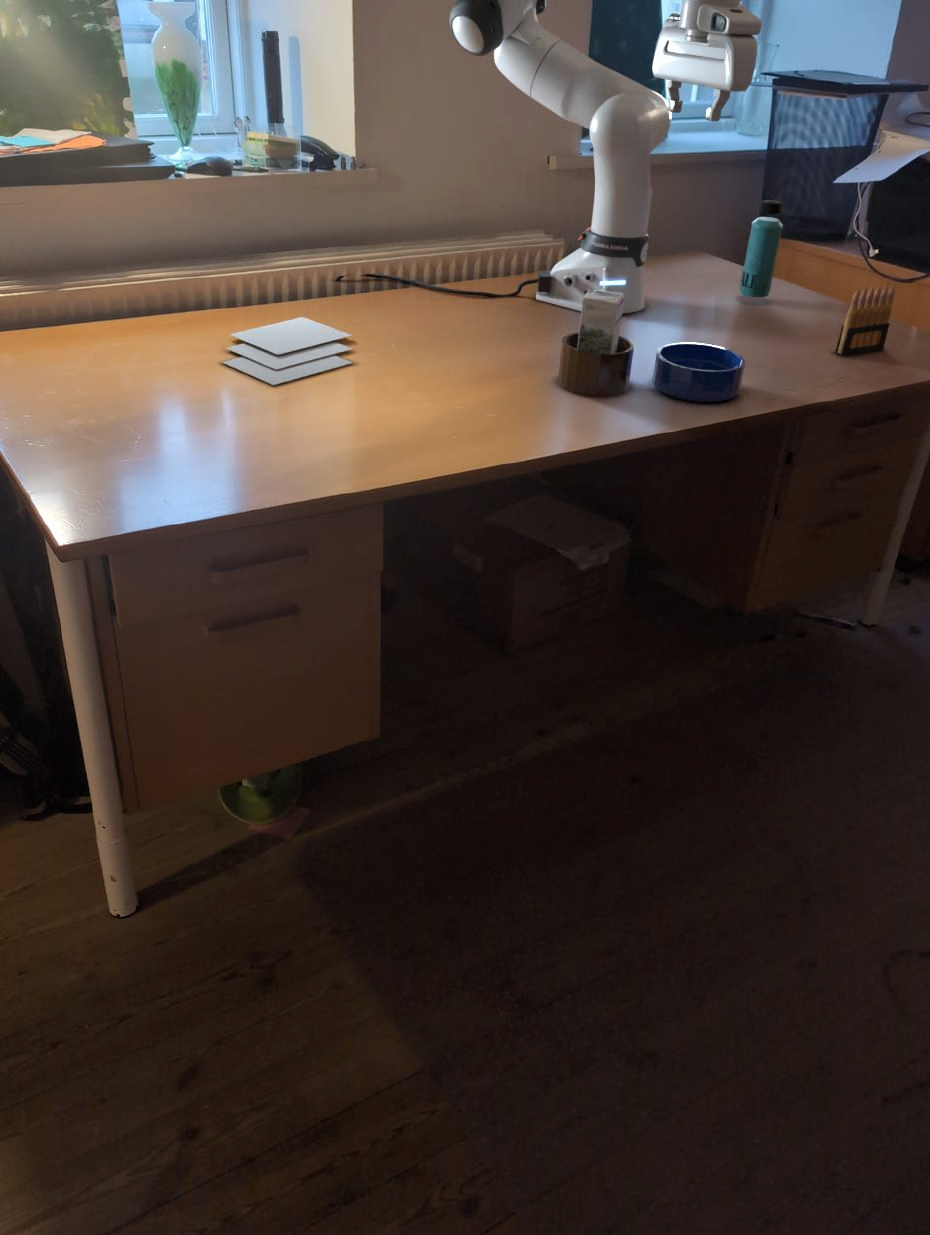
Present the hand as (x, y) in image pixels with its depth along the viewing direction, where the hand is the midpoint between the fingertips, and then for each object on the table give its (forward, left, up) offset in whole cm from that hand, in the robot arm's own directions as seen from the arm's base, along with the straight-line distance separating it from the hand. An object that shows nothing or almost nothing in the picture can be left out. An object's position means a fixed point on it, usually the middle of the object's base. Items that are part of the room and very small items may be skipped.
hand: (692, 116), depth 163 cm
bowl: (+12, -16, -39) cm, 43 cm away
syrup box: (-3, -24, -38) cm, 45 cm away
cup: (-3, -24, -39) cm, 45 cm away
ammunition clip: (+32, +22, -39) cm, 55 cm away
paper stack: (-53, -40, -39) cm, 77 cm away
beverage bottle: (+6, +44, -39) cm, 59 cm away
